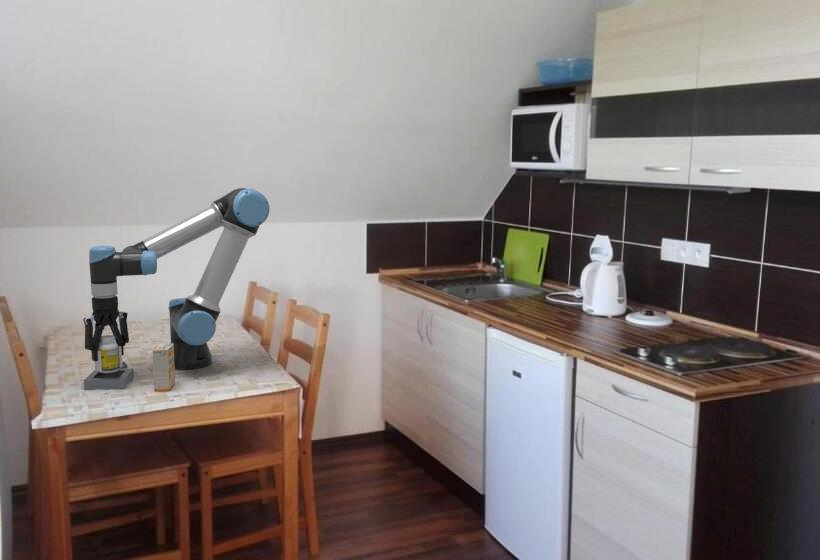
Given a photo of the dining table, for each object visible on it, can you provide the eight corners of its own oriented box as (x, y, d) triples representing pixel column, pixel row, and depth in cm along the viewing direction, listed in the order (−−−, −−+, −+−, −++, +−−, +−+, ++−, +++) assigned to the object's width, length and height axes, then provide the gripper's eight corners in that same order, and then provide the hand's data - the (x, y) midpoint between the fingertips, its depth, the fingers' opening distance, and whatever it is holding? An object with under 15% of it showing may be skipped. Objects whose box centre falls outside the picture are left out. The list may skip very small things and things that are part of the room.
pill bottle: (95, 370, 235) (93, 336, 233) (115, 367, 239) (113, 333, 237) (101, 375, 230) (99, 340, 228) (122, 371, 234) (120, 337, 232)
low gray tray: (125, 389, 230) (124, 379, 229) (84, 391, 228) (83, 380, 228) (141, 370, 251) (140, 360, 251) (103, 371, 250) (103, 361, 249)
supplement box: (169, 391, 228) (168, 349, 225) (153, 391, 227) (151, 349, 225) (176, 383, 236) (174, 342, 234) (160, 383, 235) (158, 343, 233)
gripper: (126, 290, 240) (129, 360, 244) (68, 298, 225) (73, 372, 229) (139, 293, 236) (142, 364, 239) (81, 301, 221) (86, 377, 225)
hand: (108, 368), depth 234 cm, fingers closed on pill bottle, 6 cm apart
